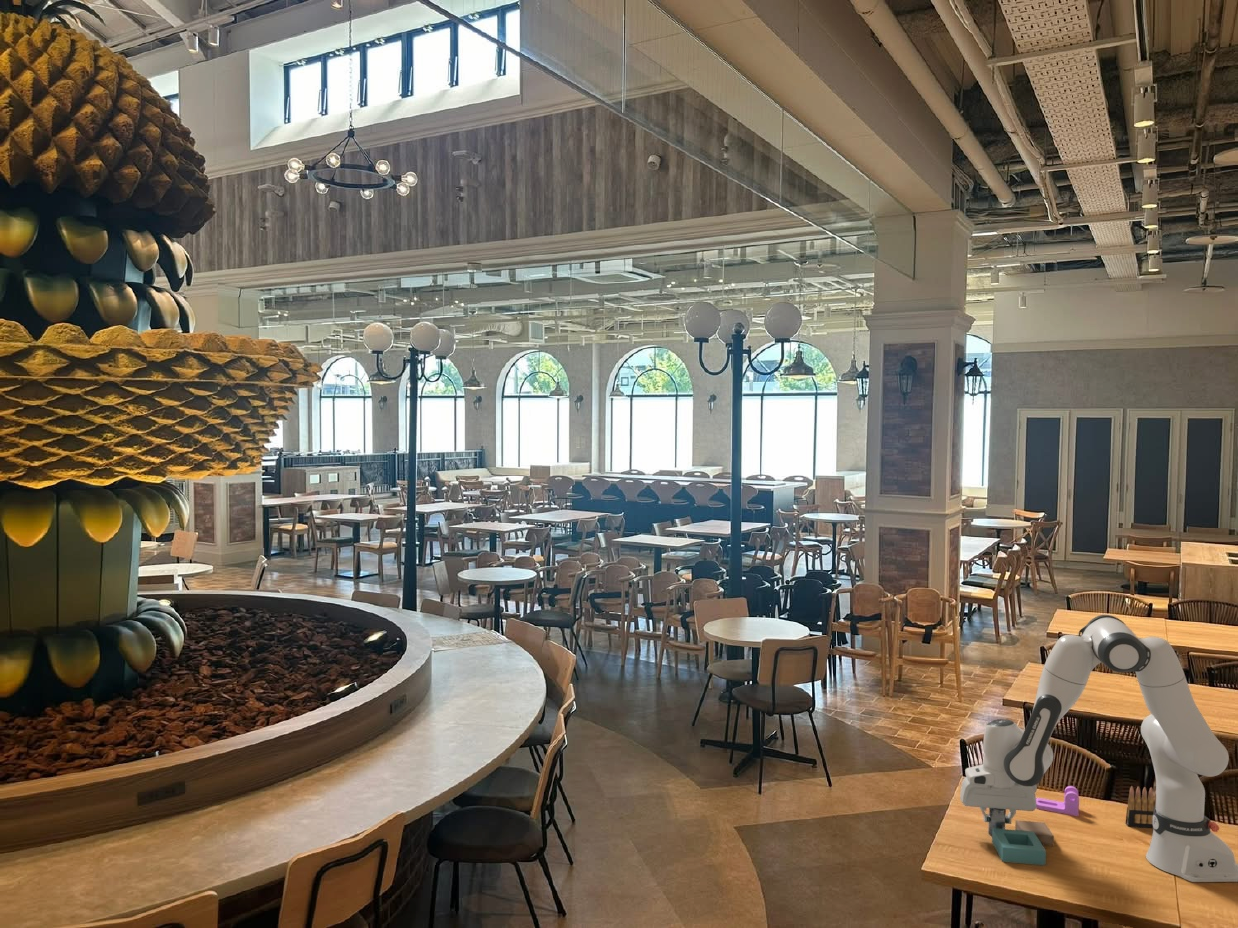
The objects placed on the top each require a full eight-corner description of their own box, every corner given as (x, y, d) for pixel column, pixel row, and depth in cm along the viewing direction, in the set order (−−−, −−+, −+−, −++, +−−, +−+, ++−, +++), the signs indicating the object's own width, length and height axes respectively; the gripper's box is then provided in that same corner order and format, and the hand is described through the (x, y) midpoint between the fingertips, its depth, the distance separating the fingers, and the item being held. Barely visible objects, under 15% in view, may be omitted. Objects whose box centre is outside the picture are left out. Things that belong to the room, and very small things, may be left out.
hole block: (1033, 845, 248) (1033, 831, 248) (1045, 865, 237) (1045, 850, 237) (991, 841, 250) (992, 828, 250) (1002, 861, 239) (1002, 847, 239)
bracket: (1077, 809, 271) (1078, 787, 271) (1078, 816, 266) (1079, 794, 266) (1031, 800, 277) (1031, 779, 276) (1030, 807, 272) (1031, 785, 271)
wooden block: (1044, 832, 256) (1044, 822, 256) (1053, 845, 248) (1053, 835, 248) (1015, 830, 257) (1015, 820, 257) (1023, 843, 249) (1023, 833, 249)
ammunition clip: (1164, 826, 260) (1165, 786, 260) (1166, 829, 258) (1168, 789, 258) (1125, 823, 262) (1127, 784, 261) (1128, 826, 260) (1129, 787, 259)
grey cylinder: (1002, 831, 256) (1003, 804, 256) (1006, 838, 252) (1007, 811, 252) (986, 829, 257) (987, 803, 257) (990, 837, 253) (991, 810, 252)
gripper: (1033, 773, 255) (1032, 819, 256) (959, 768, 258) (958, 814, 259) (1040, 782, 249) (1038, 830, 250) (964, 777, 252) (963, 824, 253)
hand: (997, 821), depth 254 cm, fingers closed on grey cylinder, 4 cm apart
